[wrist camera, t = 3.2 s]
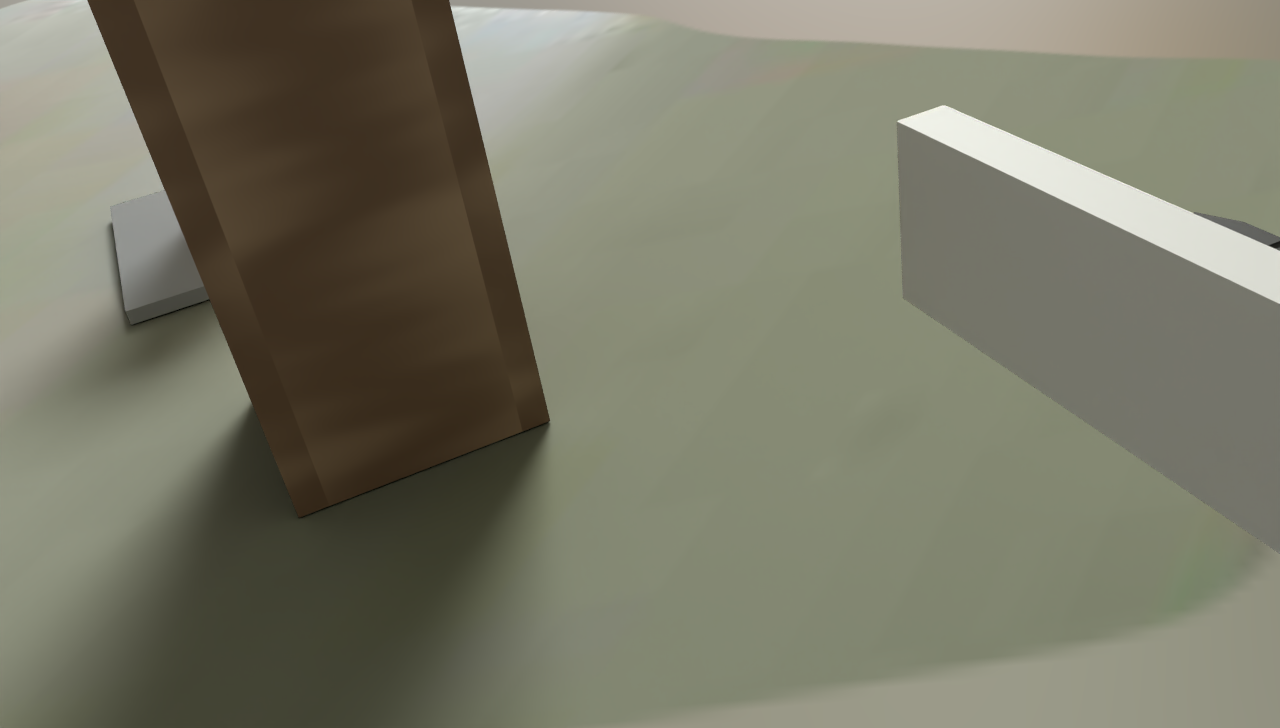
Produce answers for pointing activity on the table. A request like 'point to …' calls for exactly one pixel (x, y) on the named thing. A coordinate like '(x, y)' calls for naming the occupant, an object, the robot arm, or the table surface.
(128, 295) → the grey square base plate
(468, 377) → the brown wooden block
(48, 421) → the table surface
